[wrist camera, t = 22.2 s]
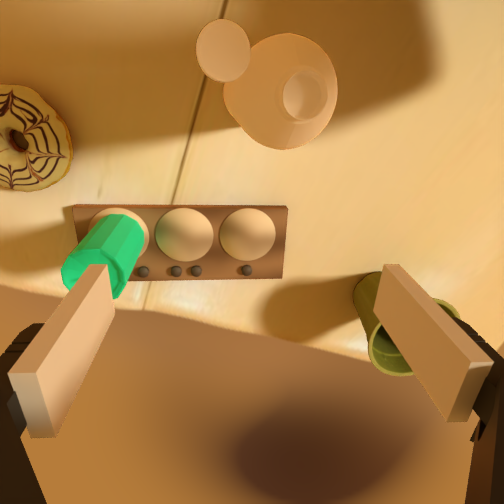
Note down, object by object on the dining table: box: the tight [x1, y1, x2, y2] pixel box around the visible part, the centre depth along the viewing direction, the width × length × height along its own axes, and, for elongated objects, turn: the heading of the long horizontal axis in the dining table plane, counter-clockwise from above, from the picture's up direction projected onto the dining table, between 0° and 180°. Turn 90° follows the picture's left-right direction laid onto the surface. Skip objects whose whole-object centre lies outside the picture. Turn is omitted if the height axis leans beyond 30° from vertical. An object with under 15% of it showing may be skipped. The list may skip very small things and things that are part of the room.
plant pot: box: [353, 272, 461, 376], centre depth 47 cm, size 12×12×11 cm
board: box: [72, 204, 288, 281], centre depth 45 cm, size 10×26×2 cm, turn 88°
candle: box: [61, 214, 145, 299], centre depth 37 cm, size 6×6×12 cm
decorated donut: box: [0, 84, 73, 192], centre depth 37 cm, size 10×11×4 cm
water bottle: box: [196, 19, 338, 150], centre depth 27 cm, size 9×6×25 cm
